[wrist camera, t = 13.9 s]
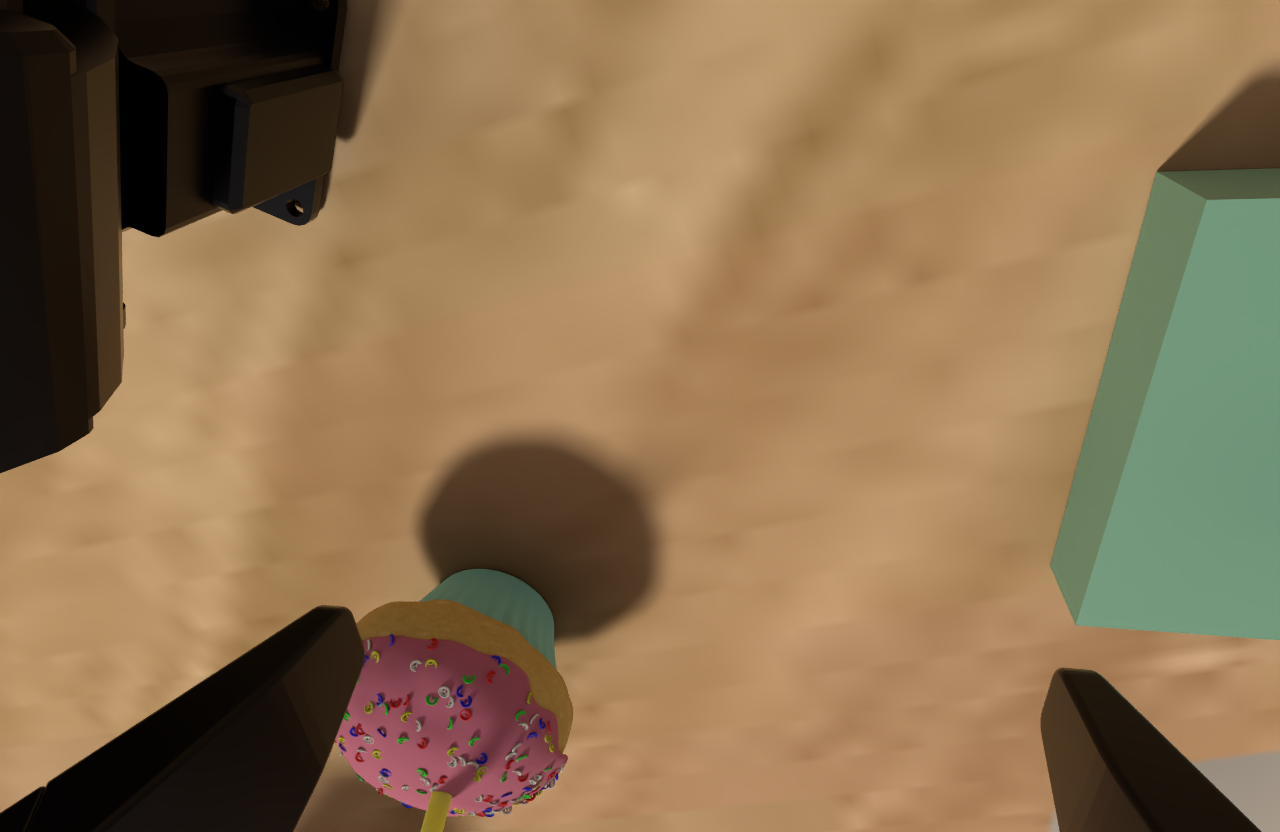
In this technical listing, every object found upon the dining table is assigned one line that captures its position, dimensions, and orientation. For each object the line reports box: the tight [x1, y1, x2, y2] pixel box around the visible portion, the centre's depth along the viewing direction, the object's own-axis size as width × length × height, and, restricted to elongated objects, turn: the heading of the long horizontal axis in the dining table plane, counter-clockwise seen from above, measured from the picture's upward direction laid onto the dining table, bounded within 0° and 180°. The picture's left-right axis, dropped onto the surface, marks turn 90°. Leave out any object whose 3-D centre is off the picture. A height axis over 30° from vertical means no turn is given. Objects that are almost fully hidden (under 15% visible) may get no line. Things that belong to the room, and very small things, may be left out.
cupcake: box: [335, 569, 573, 832], centre depth 24 cm, size 9×8×12 cm
